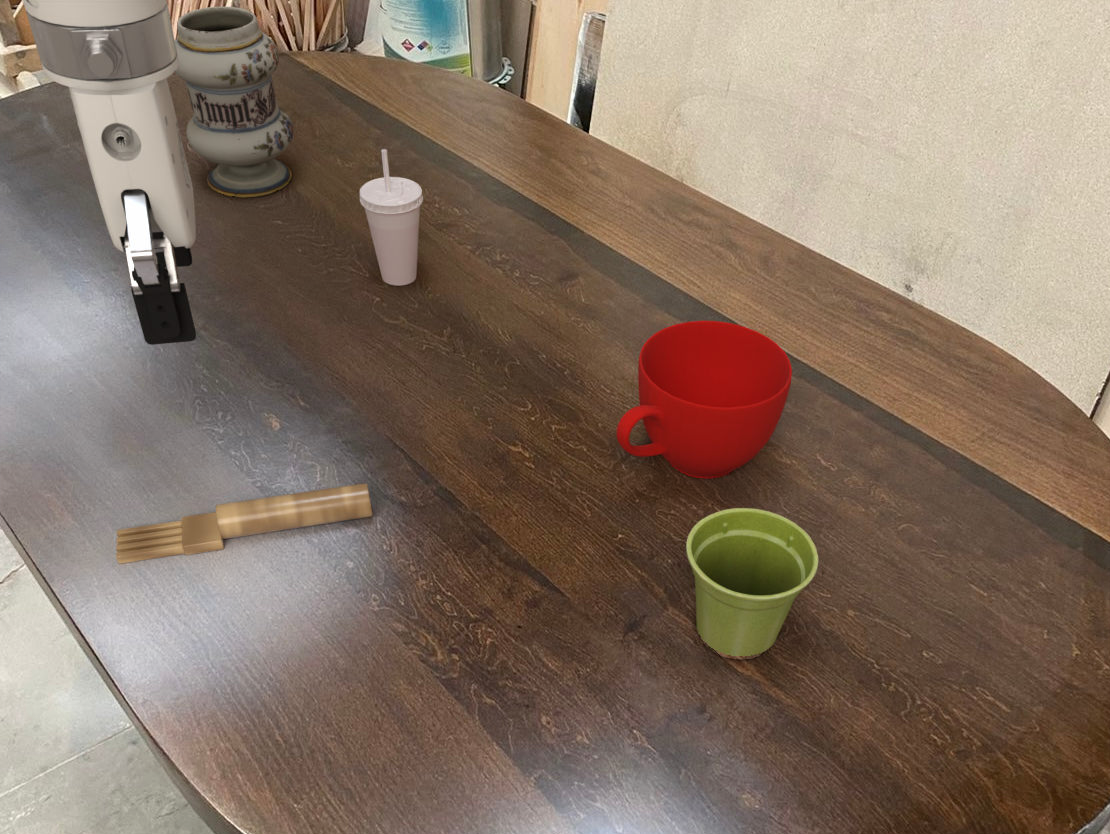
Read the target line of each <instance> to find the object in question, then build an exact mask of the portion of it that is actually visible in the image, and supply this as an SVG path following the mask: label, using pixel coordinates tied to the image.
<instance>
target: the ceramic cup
mask: <svg viewBox="0 0 1110 834" xmlns="http://www.w3.org/2000/svg"><path fill="white" fill-rule="evenodd" d="M637 364H638V366H637V367H638V368H637V369H638V370H637V371H638V372H637V373H638V375H637V378H638V379H637V380H638V381H637V382H638V383H637V385H638V402H639V405H636V406H635V407H632V408H630V409H629V410H627V411H626V412H625V413H624V414H623V415H622V417H620V420H619V422H618V424H617V427H616V440H617V443H618V444H619V446H620V447H621V448H622V449H623V450H624V451H625V452H626V453H628V454H629V455H631V456H634V457H637V458H638V457H639V458H647V457H654V456H659V455H661V456H662V457H663V458H664V459H665V460H666V461H667V462H668V463H669V464H670V465H671V466H672V467H673V468H674V469H675V470H676V471H678V472H680V473H681V474H683V475H686V476H687V477H688V476H689V477H692V478H696V479H697V478H698V479H706V480H707V479H717V478H721V477H724V476H727V475H728V474H730V473H732V472H733V471H735V470H737V469H739V468H741V467H743V466H744V465H745V464H747V463H748V462H750V461H751V460H752V459H753V458H755V457H756V456H757V455H758V454H759V453H760V452H761V451H762V449H763V448H764V447H765V446H766V445H767V444H768V442H769V440H770V439H771V437H772V436H773V434H774V432H775V430H776V427H777V426H778V423H779V421H780V419H781V417H782V414H783V411H784V409H785V406H786V403H787V400H788V397H789V393H790V389H791V385H792V378H793V368H792V364H791V360H790V359H789V357H788V355H787V353H786V352H785V350H783V349H782V348H781V346H780V345H779V344H778V343H776V342H775V341H774V340H773V339H771V338H770V337H769V336H766V335H764V334H763V333H761V332H759V331H757V330H754V329H751V328H749V327H746V326H744V325H741V324H736V323H731V322H726V321H718V320H694V321H693V320H692V321H685V322H680V323H675V324H672V325H670V326H666V327H665V328H662V329H660V330H659V331H657V332H655V333H654V334H652V335H651V336H650V337H649V338H647V340H646V341H645V342H644V344H643V345H642V347H641V349H640V353H639V356H638V363H637ZM641 420H642V423H643V425H644V428H645V431H646V434H647V436H648V438H649V440H650V441H651V443H649V444H641V445H640V444H639V445H633V444H631V442H630V436H631V432H632V430H633V429H634V427H635V426H636V424H637V423H639V422H640V421H641Z"/></svg>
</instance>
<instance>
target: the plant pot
mask: <svg viewBox="0 0 1110 834" xmlns="http://www.w3.org/2000/svg"><path fill="white" fill-rule="evenodd" d="M685 544H686V546H685V553H686V557H687V560H688V563H689V565H690V567H691V570H692V574H693V576H694V585H695V586H694V589H695V612H696V613H695V614H696V615H695V616H696V617H695V618H696V631H697V630H698V633H699V634H700V636H701V637H702V639H703V641H705V642H706V643H707V644H708V645H709V646H710V647H711V648H713V649H714V650H717V651H718V652H721V653H724V654H726V655H731V656H743V657H745V656H751V655H755V654H759V653H762V652H764V651H766V650H767V649H769V648H770V647H771V646H772V645H773V646H774V644H775V642H776V640H777V638H778V636H779V634H780V632H781V630H782V627H783V625H784V623H785V621H786V618H787V616H788V614H789V612H790V610H791V608H792V606H793V603H794V601H795V599H796V597H797V596H798V595H800V593H801V592H802V591H803V590H804V589H805V588H806V587H807V586H808V585H810V584H811V582H812V581H813V579H814V577H815V575H816V574H817V571H818V566H819V555H818V550H817V547H816V545H815V543H814V541H813V540H812V538H811V537H810V535H809V534H808V532H806V531H805V529H803V528H802V527H801V526H799V525H798V524H797V523H796V522H794V521H792V520H791V519H789V518H786V517H784V516H783V515H781V514H778V513H774V512H772V511H769V510H764V509H759V508H749V507H736V508H728V509H722V510H720V511H719V510H718V511H716V512H714V513H711V514H709V515H707V516H705V517H704V518H701V520H699V521H698V522H697V523H696V524H695V525H694V526H693V527H692V528H691V530H690V532H689V533H688V536H687V539H686V543H685ZM698 633H697V634H698ZM773 643H774V644H773ZM773 646H772V647H773ZM772 647H771V648H772ZM711 648H710V649H711ZM771 648H770V649H771ZM770 649H769V650H770ZM714 650H713V651H714ZM766 652H767V651H766Z"/></svg>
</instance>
